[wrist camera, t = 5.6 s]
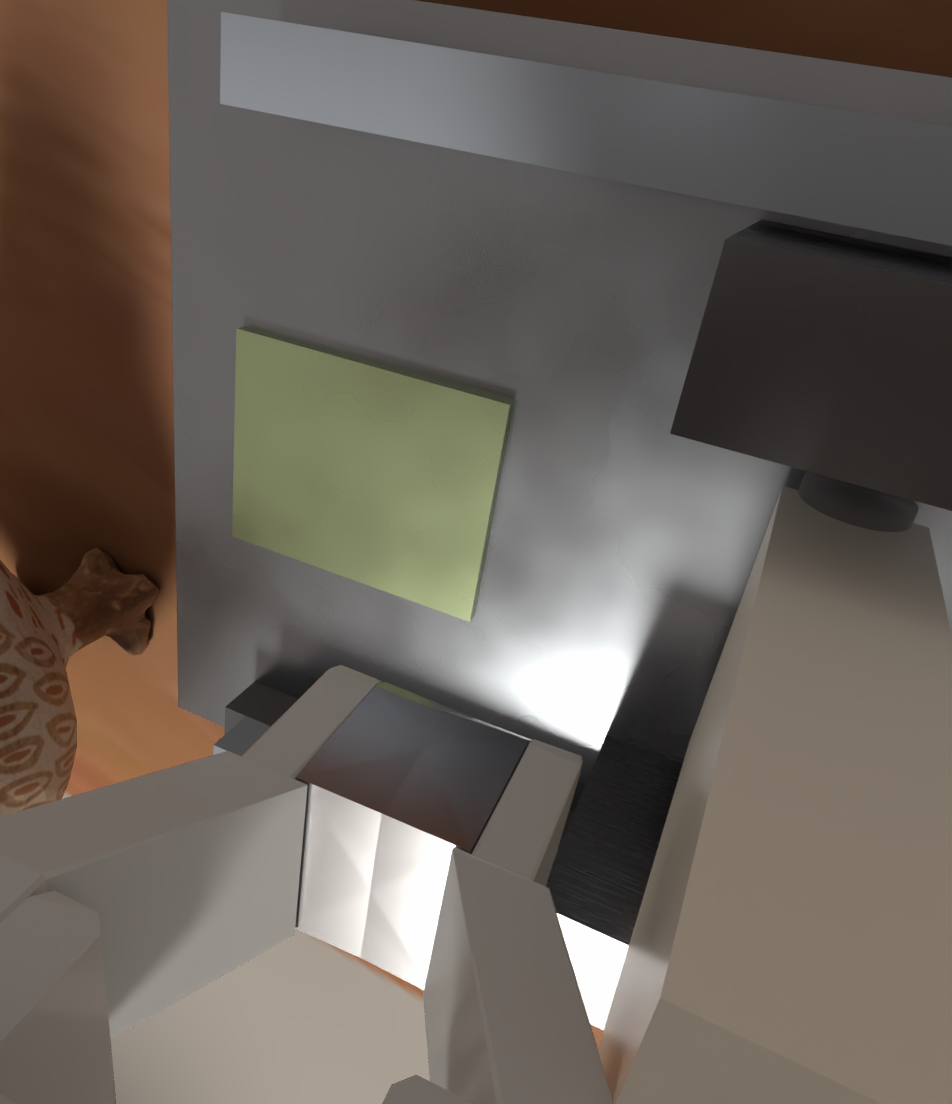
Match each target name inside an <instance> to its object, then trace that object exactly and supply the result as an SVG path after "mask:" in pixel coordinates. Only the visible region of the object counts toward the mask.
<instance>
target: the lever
mask: <svg viewBox="0 0 952 1104" xmlns="http://www.w3.org/2000/svg"><path fill="white" fill-rule="evenodd" d="M918 511H919V508H918V506H917V504H916V503H915V502H914V501H913V500H910V499H906V498H902V497H899V496H895V495H892V494H888V493H884V492H881V491H877V490H873V489H870V488H866V487H862V486H859V485H855V484H851V483H848V482H844V481H841V480H837V479H833V478H830V477H826V476H822V475H819V474H815V473H811V472H806V473H805V474H804V476H803V479H802V482H801V484H800V487H799V490H796V489H792V488H789V487H786V486H782V489H781V492H780V494H779V497H778V500H777V503H776V505H775V508H774V511H773V514H772V516H771V519H770V522H769V525H768V527H767V530H766V533H765V536H764V538H763V541H762V544H761V547H760V549H759V552H758V555H757V558H756V560H755V563H754V566H753V568H752V571H751V574H750V577H749V579H748V582H747V585H746V588H745V590H744V593H743V596H742V599H741V601H740V604H739V607H738V610H737V612H736V615H735V618H734V621H733V623H732V626H731V629H730V632H729V634H728V637H727V640H726V643H725V645H724V648H723V651H722V654H721V656H720V659H719V662H718V664H717V667H716V670H715V673H714V675H713V678H712V681H711V684H710V686H709V689H708V692H707V695H706V697H705V700H704V703H703V706H702V708H701V711H700V714H699V717H698V719H697V722H696V725H695V728H694V730H693V733H692V736H691V739H690V741H689V744H688V748H687V751H686V755H685V758H684V761H683V765H682V768H681V771H680V775H679V778H678V782H677V785H676V788H675V792H674V795H673V798H672V802H671V805H670V809H669V812H668V815H667V819H666V822H665V825H664V829H663V832H662V835H661V839H660V842H659V846H658V849H657V852H656V856H655V859H654V862H653V866H652V869H651V873H650V876H649V879H648V883H647V886H646V889H645V893H644V896H643V900H642V903H641V906H640V910H639V913H638V916H637V920H636V923H635V927H634V930H633V933H632V937H631V940H630V943H629V947H628V950H627V954H626V957H625V960H624V964H623V967H622V970H621V974H620V977H619V981H618V984H617V987H616V991H615V994H614V997H613V1001H612V1004H611V1008H610V1011H609V1014H608V1018H607V1021H606V1024H605V1028H604V1031H603V1035H602V1038H601V1041H600V1045H599V1048H598V1052H599V1055H600V1059H601V1062H602V1065H603V1069H604V1072H605V1075H606V1079H607V1082H608V1085H609V1089H610V1092H611V1095H612V1098H613V1103H612V1104H952V634H951V629H950V625H949V620H948V615H947V610H946V606H945V601H944V596H943V591H942V587H941V582H940V577H939V573H938V568H937V563H936V558H935V554H934V549H933V544H932V539H931V535H930V530H929V528H928V527H925V526H922V525H918V524H915V523H913V522H914V520H915V517H916V515H917V513H918Z"/></svg>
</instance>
